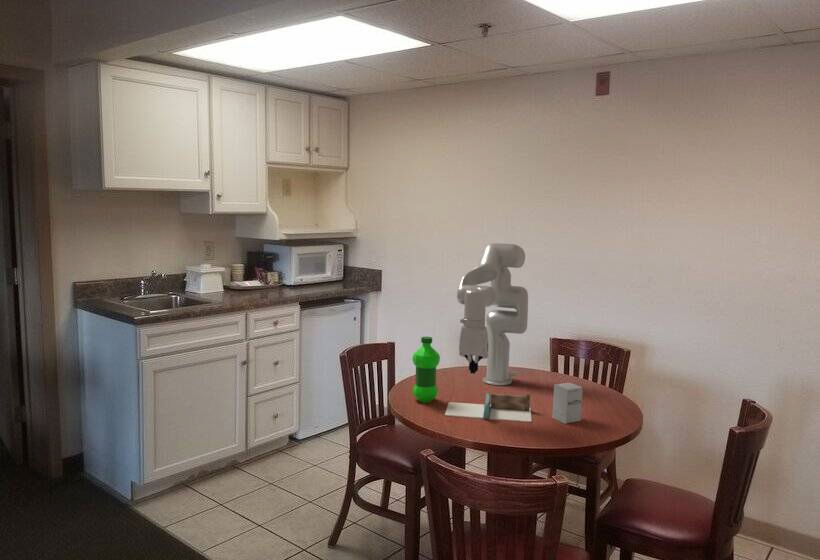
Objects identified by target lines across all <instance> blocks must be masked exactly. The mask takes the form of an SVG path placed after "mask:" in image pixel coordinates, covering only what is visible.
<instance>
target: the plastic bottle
mask: <svg viewBox="0 0 820 560" xmlns="http://www.w3.org/2000/svg"><path fill="white" fill-rule="evenodd" d="M420 343H421V345H422V346H421V347H419V349H417V350H416V351H415V352H414V353H413V355H412V363H413V365H414V366H415V383H414V386H413V388H412V393H413V396H414V397H415V398H416V399H417V400H418V401H419V402H420V401H421V403H431V402H432V401H434V399H435V398H436V397H437V395H438V393H439V389H438V385H437V384H436V383H437V367H438V366H439V364H440V360H441V357H440V356H441V355H440V353H439V352H437V350H436V349H434V348H433V346H432V343H433V337H432V336H421V339H420ZM430 401H431V402H430Z"/></svg>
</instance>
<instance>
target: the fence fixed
mask: <svg viewBox="0 0 820 560" xmlns="http://www.w3.org/2000/svg"><path fill="white" fill-rule="evenodd" d="M530 404H531V394H530V393H525V394H524V395H516V394H499V393H490V405H491V408H500V409H514V410H525V411H529V408H531V407H530V406H531V405H530Z"/></svg>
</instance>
